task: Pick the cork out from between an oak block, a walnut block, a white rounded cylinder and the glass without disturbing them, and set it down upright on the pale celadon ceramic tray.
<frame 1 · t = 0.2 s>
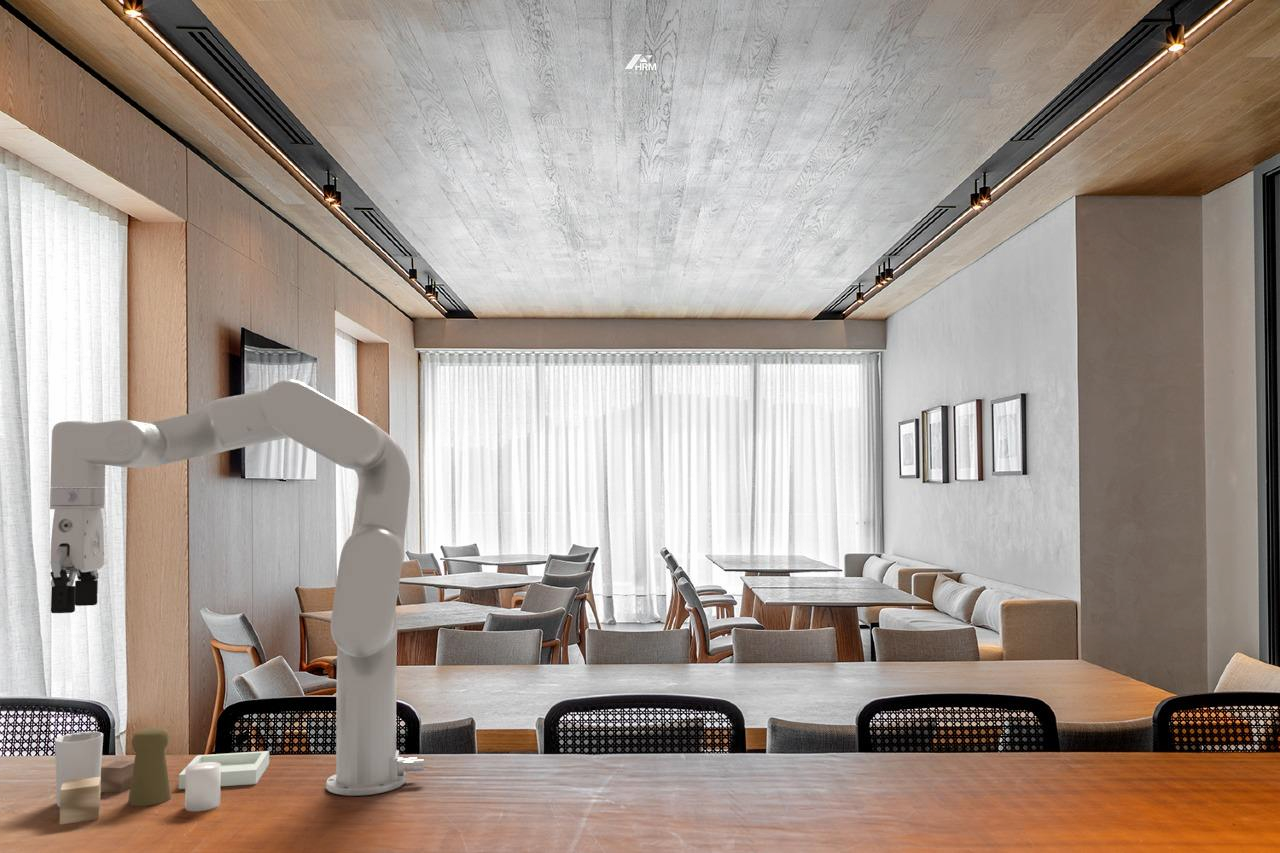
hand: (74, 608, 156), 30 cm above the table, tool pointing down, fingers open, 9 cm apart
walnut block: (118, 789, 163), on the table
white rounded cylinder: (202, 806, 153), on the table
oak block: (80, 817, 149), on the table
tray: (225, 776, 169), on the table
drinking glass: (78, 802, 156), on the table
cork: (149, 801, 156), on the table
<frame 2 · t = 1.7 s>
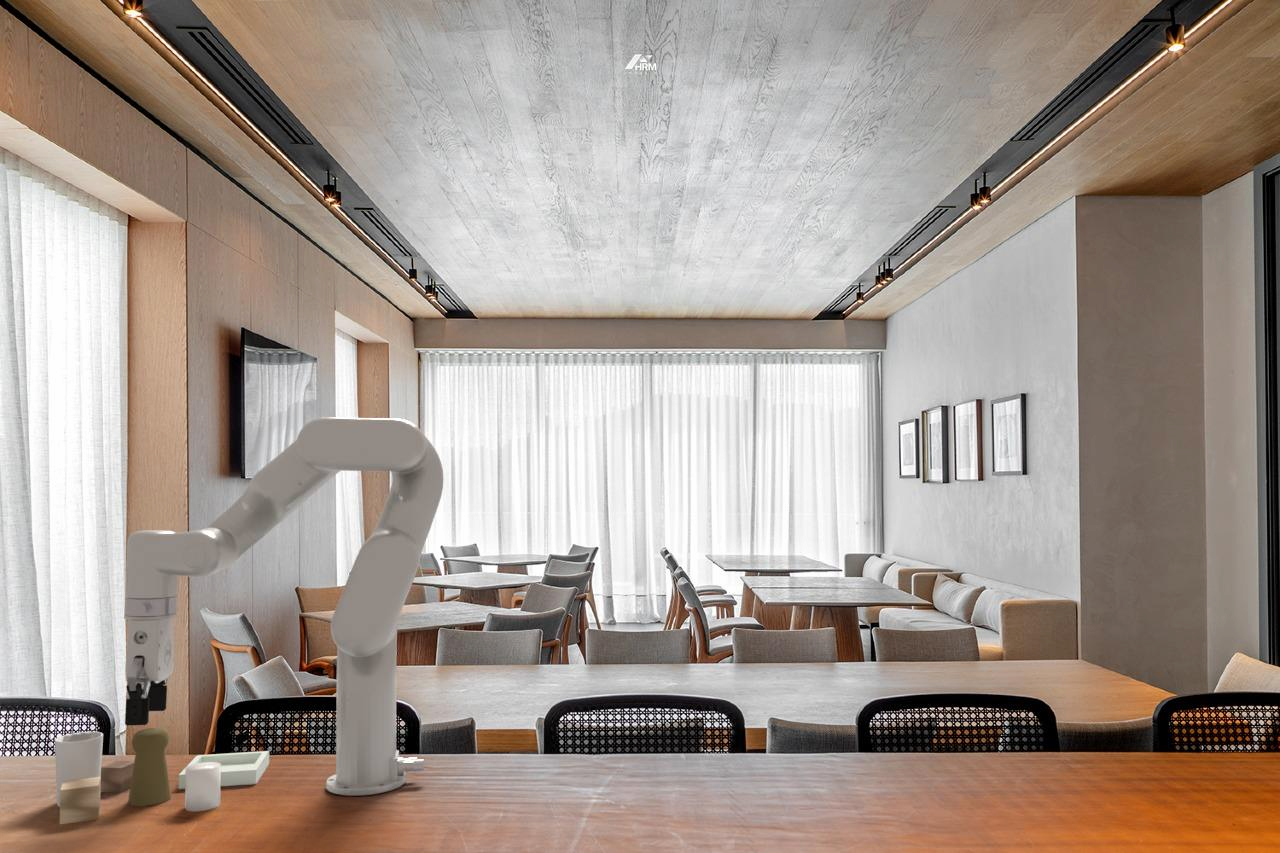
hand: (146, 717, 157), 13 cm above the table, tool pointing down, fingers open, 9 cm apart
nothing on the table moved.
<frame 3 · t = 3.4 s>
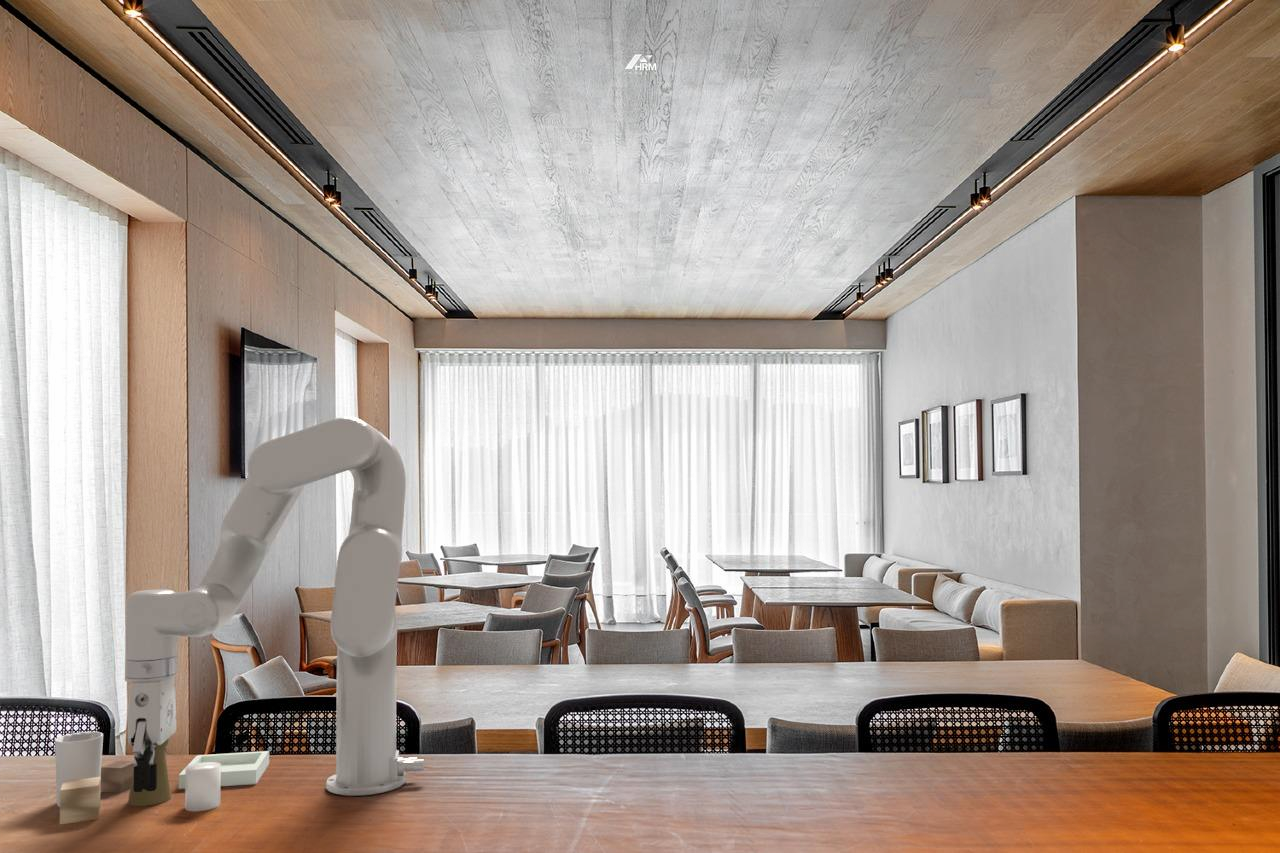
hand: (149, 785, 156), 2 cm above the table, tool pointing down, fingers closed on cork, 4 cm apart
cork: (149, 801, 156), on the table, touching gripper
everything else where it was.
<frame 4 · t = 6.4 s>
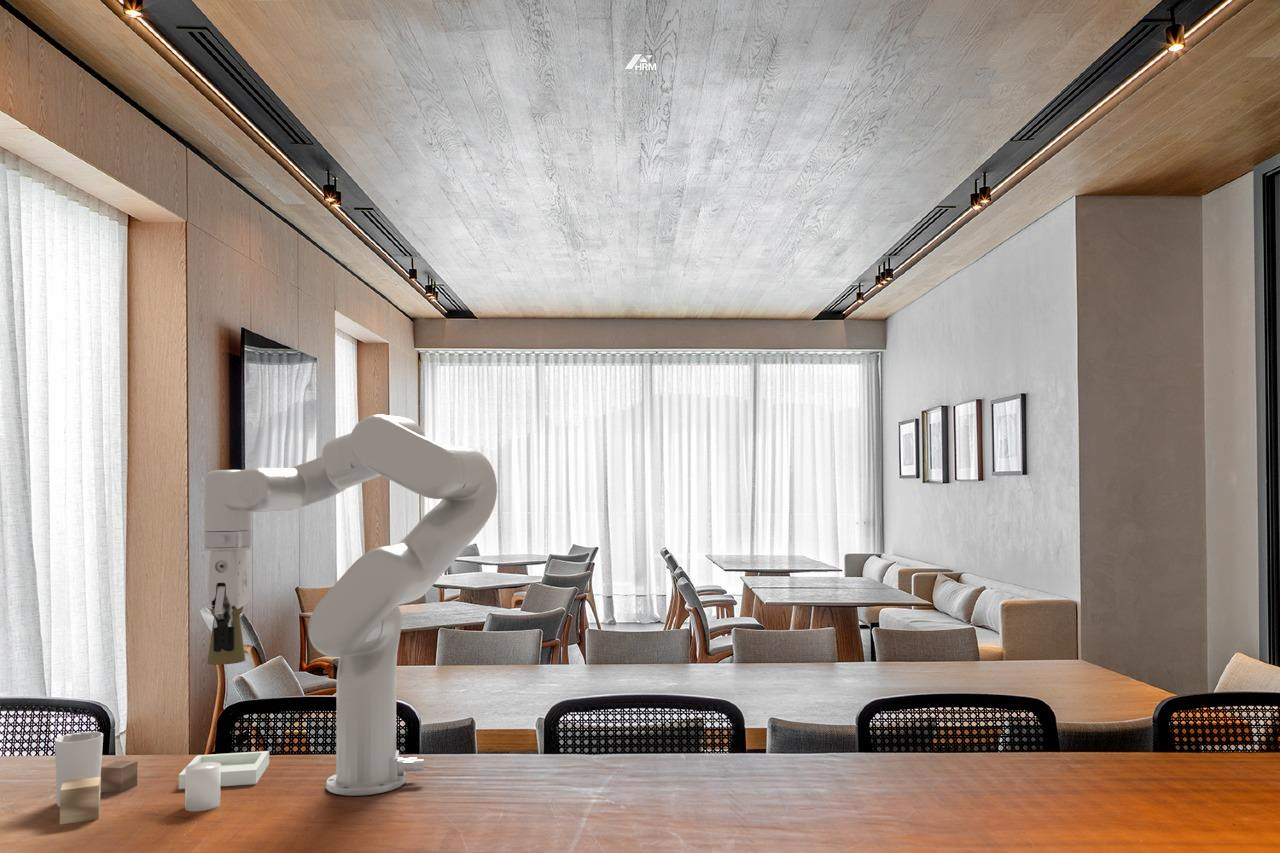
hand: (227, 647, 170), 22 cm above the table, tool pointing down, fingers closed on cork, 4 cm apart
cork: (226, 662, 170), point 19 cm above the table, touching gripper
everything else where it was.
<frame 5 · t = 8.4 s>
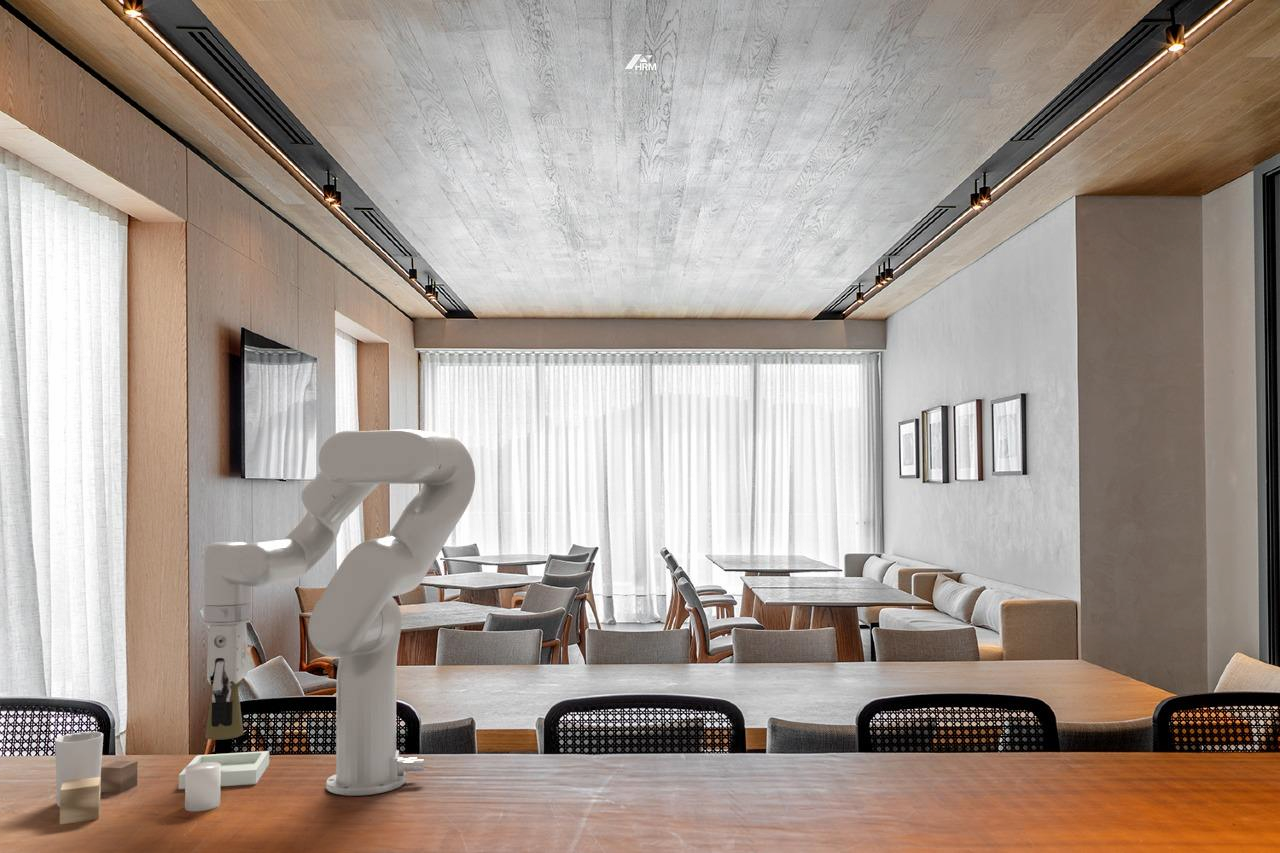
hand: (225, 721, 169), 9 cm above the table, tool pointing down, fingers closed on cork, 4 cm apart
cork: (224, 736, 169), point 7 cm above the table, touching gripper
everything else where it was.
when the fingers open (5 cm above the table, at t = 9.7 s): cork drops 2 cm, resting on tray.
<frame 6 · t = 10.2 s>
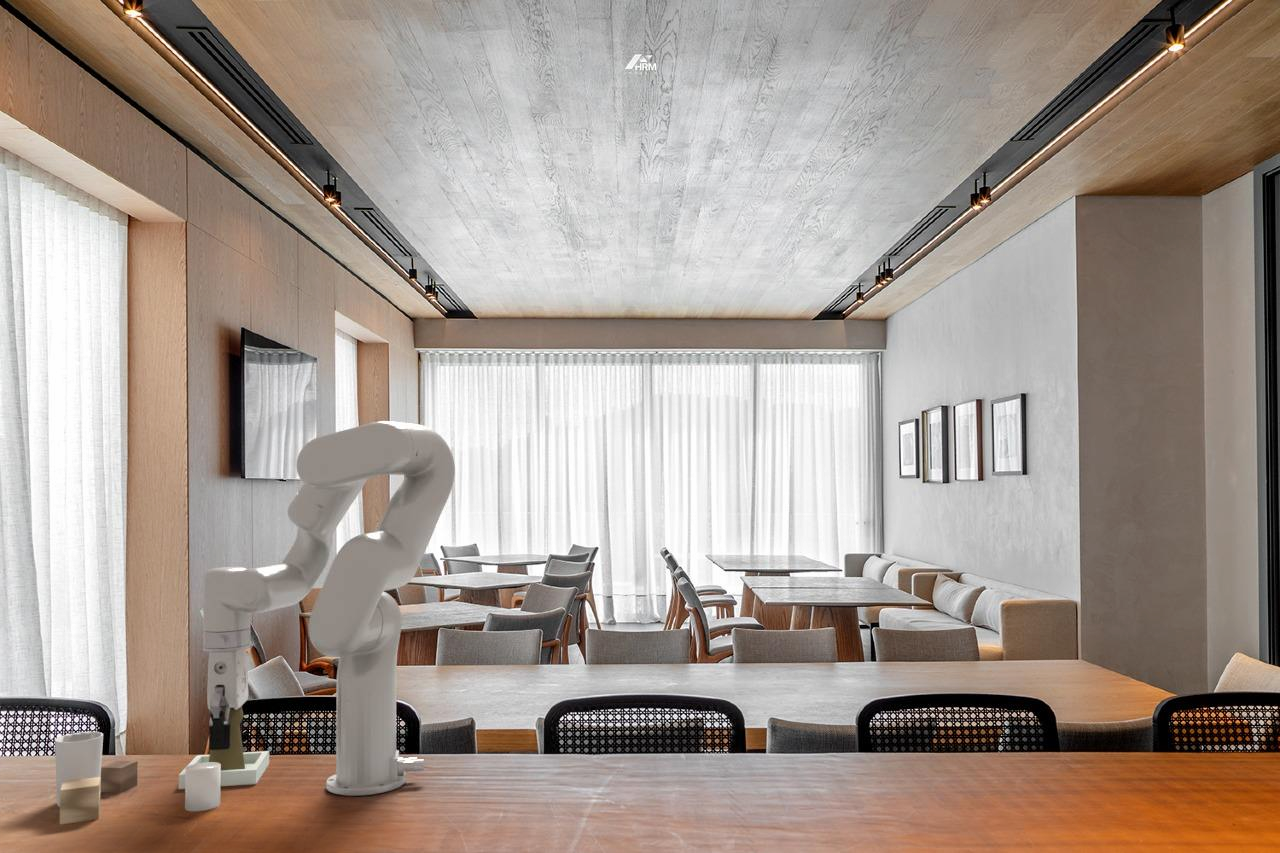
hand: (226, 741, 169), 6 cm above the table, tool pointing down, fingers open, 9 cm apart
cork: (226, 772, 169), point 1 cm above the table, touching tray
everything else where it was.
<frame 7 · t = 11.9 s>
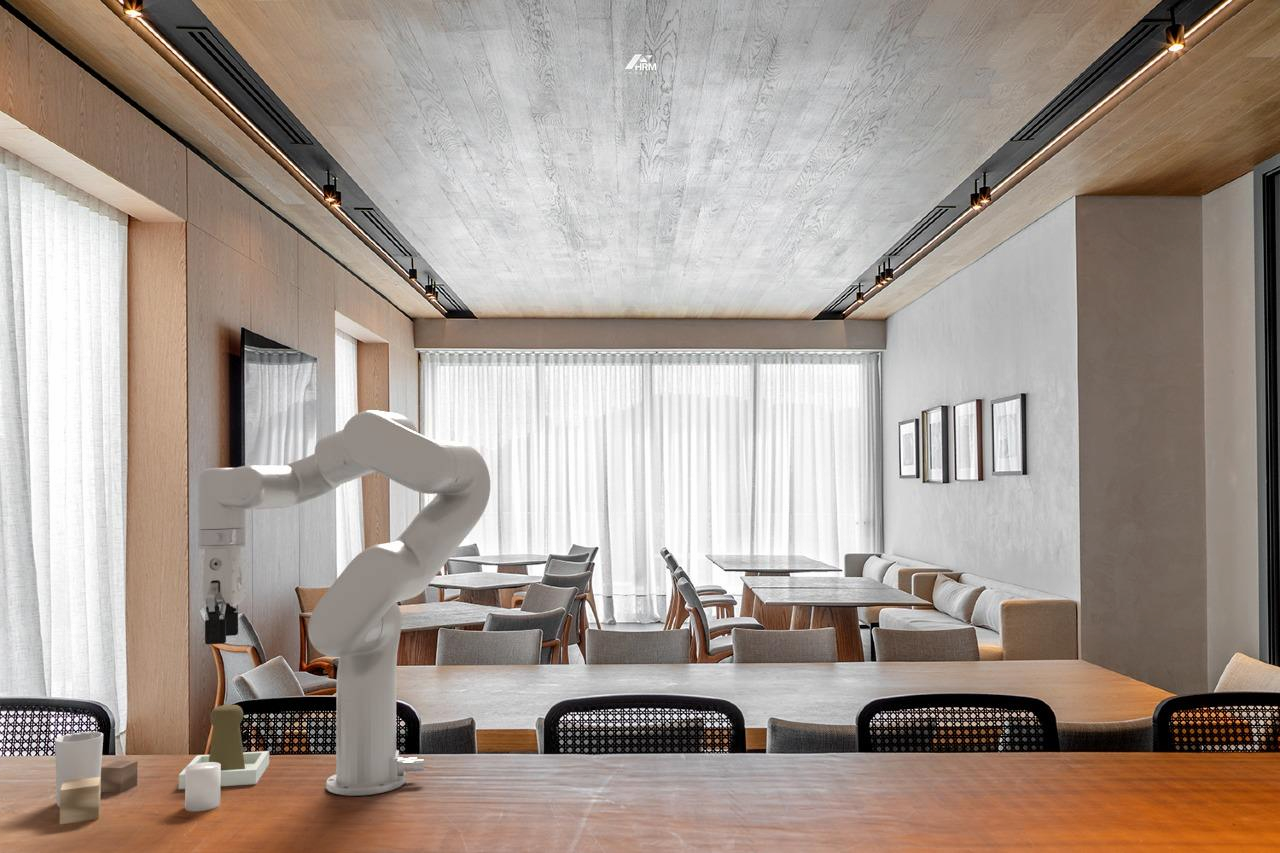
hand: (222, 639, 170), 23 cm above the table, tool pointing down, fingers open, 9 cm apart
nothing on the table moved.
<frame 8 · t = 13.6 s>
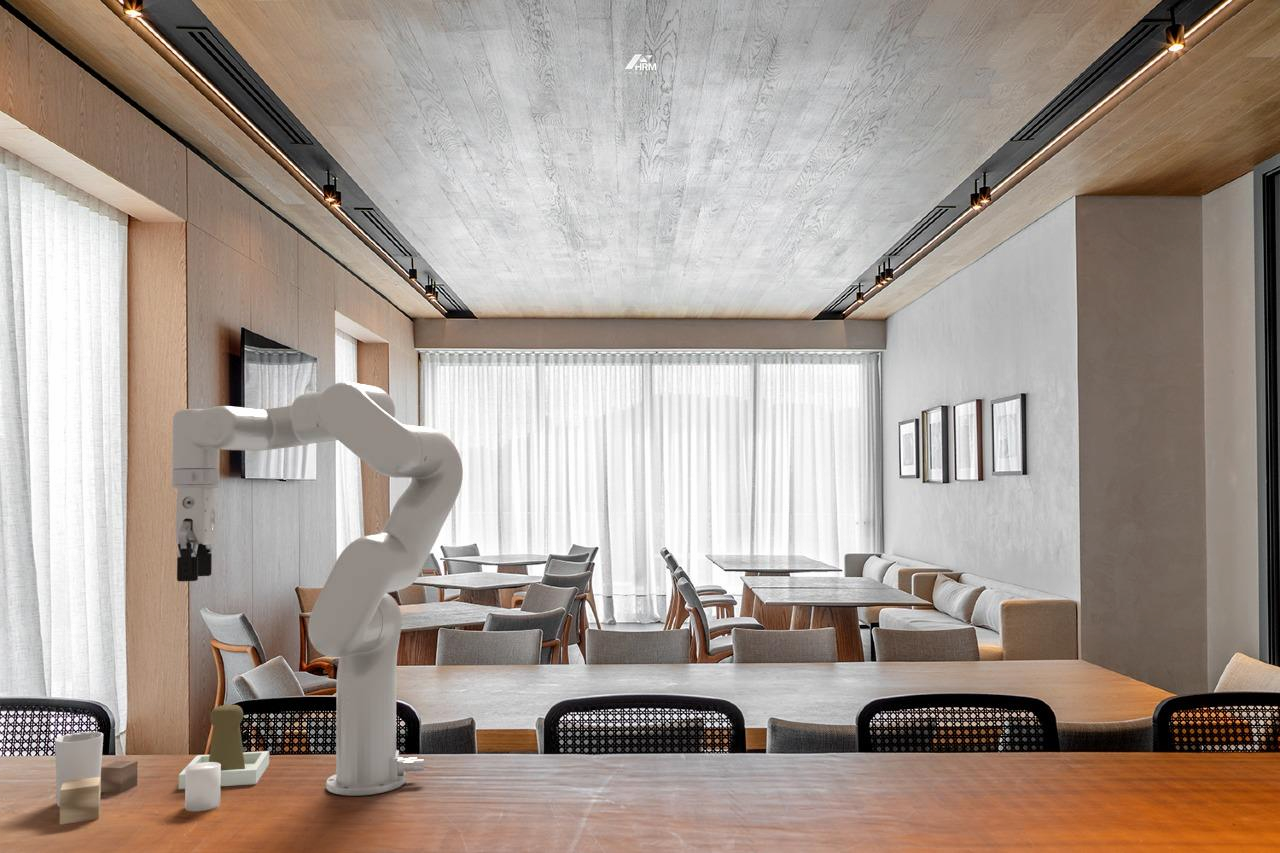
hand: (194, 578, 172), 33 cm above the table, tool pointing down, fingers open, 9 cm apart
nothing on the table moved.
at the end: cork inside the target area on the tray (0.1 cm from its centre), point 0.6 cm above the tray's base; cork tilted 0°; drinking glass moved 0.2 cm from its start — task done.
